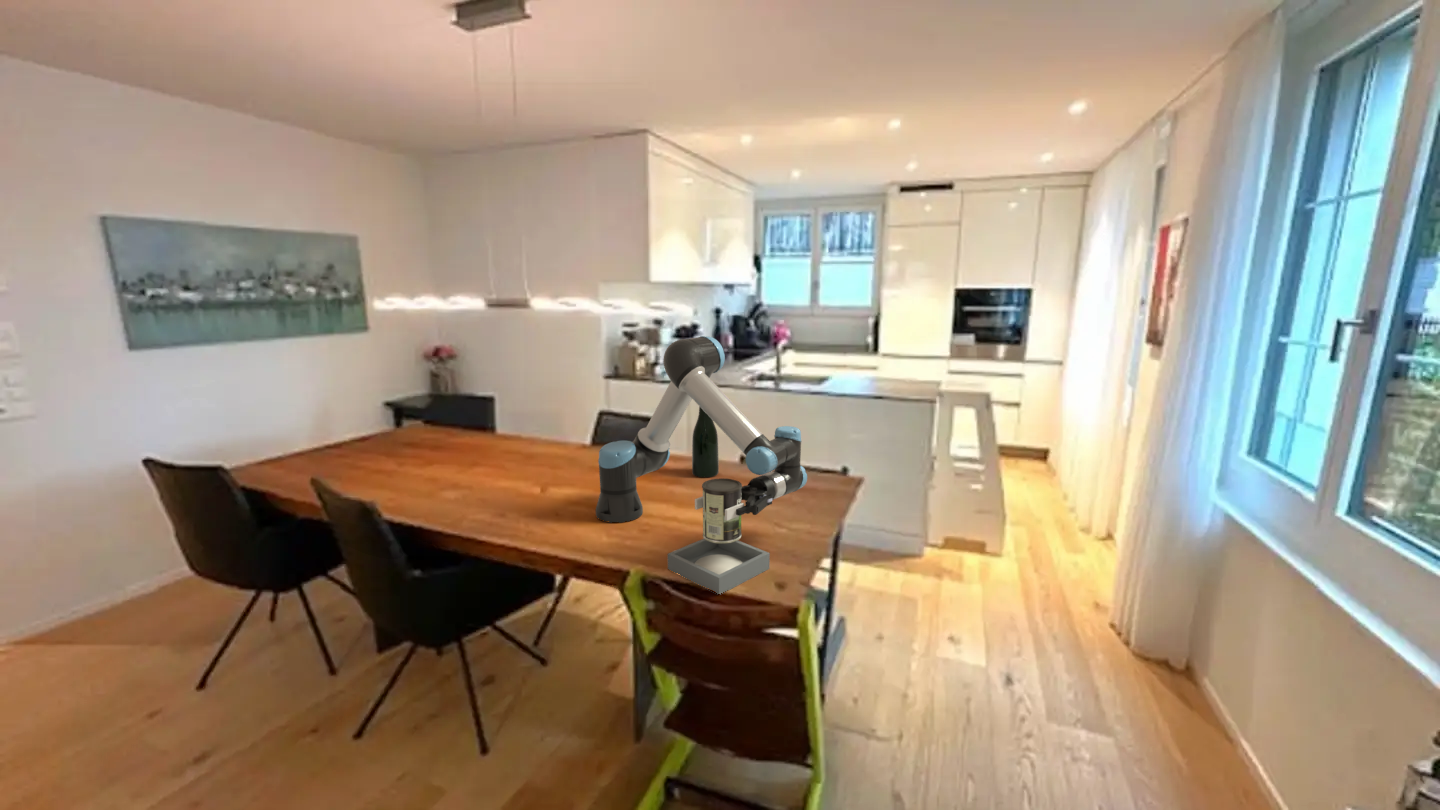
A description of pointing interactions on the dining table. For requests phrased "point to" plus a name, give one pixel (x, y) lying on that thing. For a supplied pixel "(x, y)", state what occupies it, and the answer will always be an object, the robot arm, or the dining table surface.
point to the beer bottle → (705, 447)
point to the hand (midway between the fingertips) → (710, 509)
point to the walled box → (718, 563)
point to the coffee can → (721, 510)
